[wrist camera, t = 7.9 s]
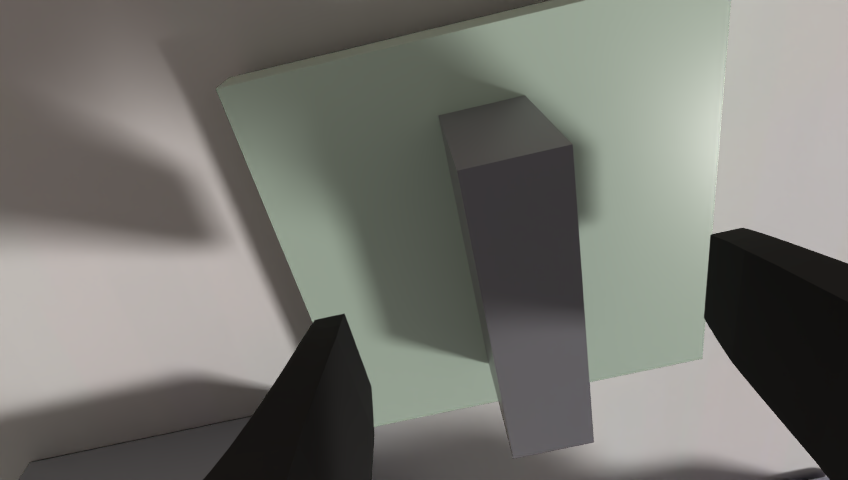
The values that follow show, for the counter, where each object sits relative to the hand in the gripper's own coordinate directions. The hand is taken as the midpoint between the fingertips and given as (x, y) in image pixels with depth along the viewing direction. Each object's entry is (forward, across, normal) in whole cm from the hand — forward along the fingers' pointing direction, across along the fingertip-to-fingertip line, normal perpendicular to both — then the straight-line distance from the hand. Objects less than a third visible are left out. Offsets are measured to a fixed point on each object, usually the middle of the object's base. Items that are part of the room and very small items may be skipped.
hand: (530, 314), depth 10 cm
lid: (+4, 0, 0) cm, 4 cm away
